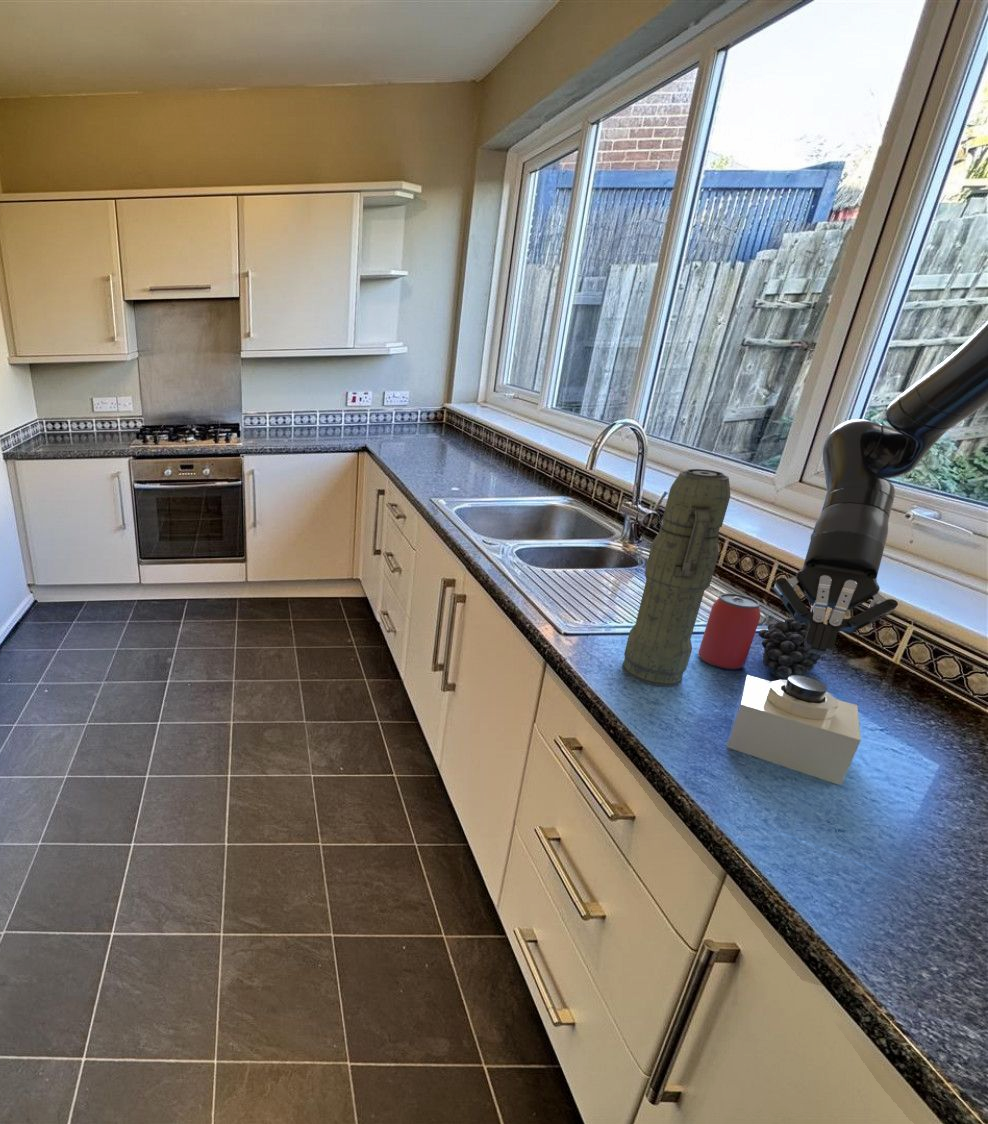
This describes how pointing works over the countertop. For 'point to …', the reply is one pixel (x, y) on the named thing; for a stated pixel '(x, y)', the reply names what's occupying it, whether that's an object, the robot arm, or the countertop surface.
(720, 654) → the beer can
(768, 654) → the fruit
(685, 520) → the thermos
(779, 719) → the push button housing
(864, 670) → the countertop surface
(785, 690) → the black push button
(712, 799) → the countertop surface
